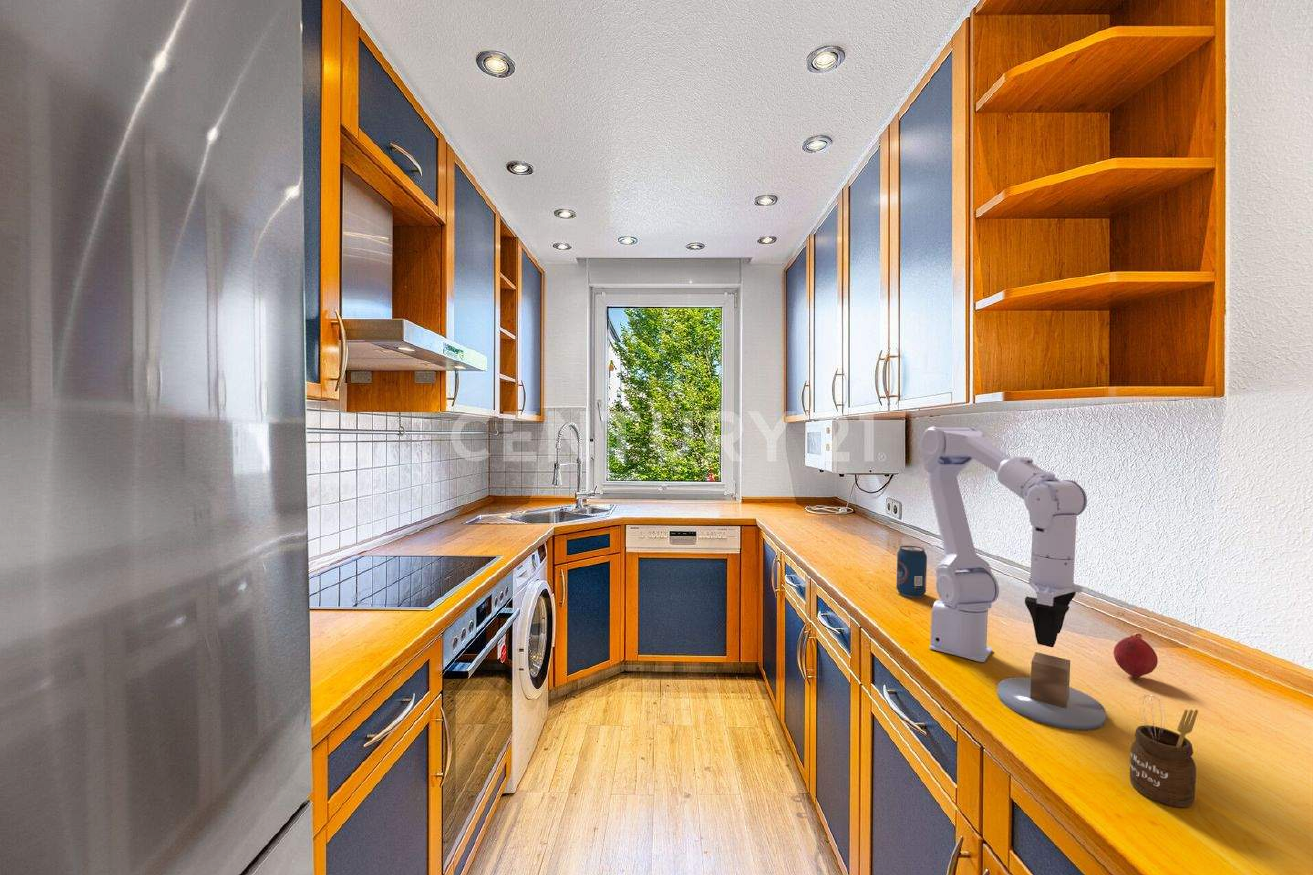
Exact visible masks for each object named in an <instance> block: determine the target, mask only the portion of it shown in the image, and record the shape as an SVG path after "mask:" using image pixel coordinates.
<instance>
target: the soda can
mask: <svg viewBox="0 0 1313 875" xmlns="http://www.w3.org/2000/svg"><path fill="white" fill-rule="evenodd" d="M925 551H926V550H925V548H923V547H921V546H918V545H917V546H916V545H900V546H899V550H898V551H897V554H896V559H897V560H896V565H897V566H896V590H897V591H898V593H899V594H900V595H901V596H904V597H907V598H913V599H915V598H916V599H917V598H922V597H924V595H925V593H926V592H927V570H928V568H927V566H928V565H927V564H928V556H927V553H926V552H925Z"/></svg>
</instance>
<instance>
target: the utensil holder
mask: <svg viewBox="0 0 1313 875" xmlns="http://www.w3.org/2000/svg"><path fill="white" fill-rule="evenodd" d="M1148 697H1150V698H1149V699H1150V703H1152V702H1153V699H1152V698H1155V699H1157V700H1156V702H1157V703H1158V706H1159V708H1162V707H1163V708H1165V706H1164V704H1163V702H1162V701H1160V699H1158V697H1156V696H1155V695H1152V694H1147V695H1146V694H1145V695H1143V696H1142V698H1143V700H1142V698H1140V699H1139V701H1141V700H1142V705H1145V699H1146V698H1148ZM1161 704H1162V705H1161ZM1150 708H1151V709H1150V710H1151V712H1152V715H1151V716H1152V717H1151V719H1152V720H1154V718H1155V714H1154V712H1153V710H1154V707H1153V704H1151V706H1150ZM1141 711H1142V712H1143V715H1144V716H1143V715H1142V712H1141ZM1165 711H1166V710H1165V709H1163V712H1164V714H1166V712H1165ZM1139 713H1140V716H1141V720H1142V722H1143V723H1144V725H1139V726H1137V727H1136V729H1135V732H1134V738H1135V740H1134V741H1133V742H1132V744H1131V746H1130V753H1129V754H1130V756H1129V781H1130V783H1131V785H1132V787H1133V788H1134V789H1135V790H1137V792H1139V793H1140V794H1142V795H1143V796H1145V797H1146V798H1148V799H1151V800H1153V801H1155V802H1157V803H1160V804H1163V805H1167V806H1169V807H1170V806H1171V807H1175V808H1188V807H1190V806H1192V805H1193V803H1194V801H1195V797H1196V796H1195V795H1196V780H1197V767H1196V763H1195V761H1194V758H1193V757H1192V756H1194V755H1193V754H1194V749H1193V744H1192V743H1191V741H1190V740H1189V739H1187V738H1186V737H1185V736H1186V735H1187V734H1189V733H1192V731H1193V728H1194V725H1195V722H1196V720H1197V717H1198V713H1199V710H1198V709H1195V710H1193V709H1190V710H1188V709H1184V711H1183V714H1182V716H1181V718H1180V721H1179V723H1178V726H1177V729H1176V730H1177V732H1175V731H1172V730H1170V729H1166V728H1165V725H1166V723H1164V725H1163V727H1162V724H1163V716H1160V717H1161V718H1160V720H1161V722H1160V723H1161V724H1160V726H1156V725H1155V724H1156V723H1155V721H1153V722H1152V725H1149V722H1148V720H1147V716H1146V710H1145V709H1142V710H1141V709H1139ZM1159 713H1160V715H1163V713H1162V709H1159ZM1166 719H1167V718H1166V716H1164V722H1166Z"/></svg>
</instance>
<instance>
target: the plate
mask: <svg viewBox="0 0 1313 875" xmlns="http://www.w3.org/2000/svg"><path fill="white" fill-rule="evenodd" d="M1030 691H1031V677H1024V676H1023V677H1021V676H1019V677H1018V676H1015V677H1009V678H1004V679H1002V680H999V682H998V683H997V692H996V693H997V697H998V700H1000V702H1001V703H1002V704H1003V705H1004V706H1006V707H1007V708H1008V709H1010V710H1011V711H1013V712H1015V713H1017V714H1019V715H1021V716H1022V717H1025V718H1027V719H1029V720H1032V721H1036V722H1037V723H1040V724H1044V725H1048V726H1050V727H1055V728H1059V729H1060V728H1061V729H1065V730H1075V731H1092V730H1093V731H1094V730H1097V729H1100V728H1102V727H1104V725H1105V724H1106V721H1107V711H1106V709H1105V707H1104V705H1102V704H1101V703H1100V702H1099V701H1098V700H1097V699H1095V698H1094V697H1092V696H1090V695H1088V694H1087V693H1085V692H1082V691H1081V690H1078V689H1076V688H1073V687H1072V686H1071V687H1070V686H1069V699H1068V703H1067V708H1066V709H1065V708H1062V707H1058V706H1055V705H1051V704H1048V703H1044V702H1040V701H1037V700H1033V699H1030Z"/></svg>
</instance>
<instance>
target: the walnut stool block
mask: <svg viewBox="0 0 1313 875" xmlns="http://www.w3.org/2000/svg"><path fill="white" fill-rule="evenodd" d="M1030 664H1031V667H1030V678H1031V691H1030V699H1033V700H1037V701H1040V702H1044V703H1048V704H1051V705H1055V706H1058V707H1062V708H1065V709H1066V708H1067V703H1068V699H1069V687H1070V682H1071V659H1067V658H1063V657H1058V656H1054V655H1050V654H1045V653H1041V652H1037V651H1035V652H1034V654H1033V657H1032V660H1031V662H1030Z"/></svg>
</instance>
